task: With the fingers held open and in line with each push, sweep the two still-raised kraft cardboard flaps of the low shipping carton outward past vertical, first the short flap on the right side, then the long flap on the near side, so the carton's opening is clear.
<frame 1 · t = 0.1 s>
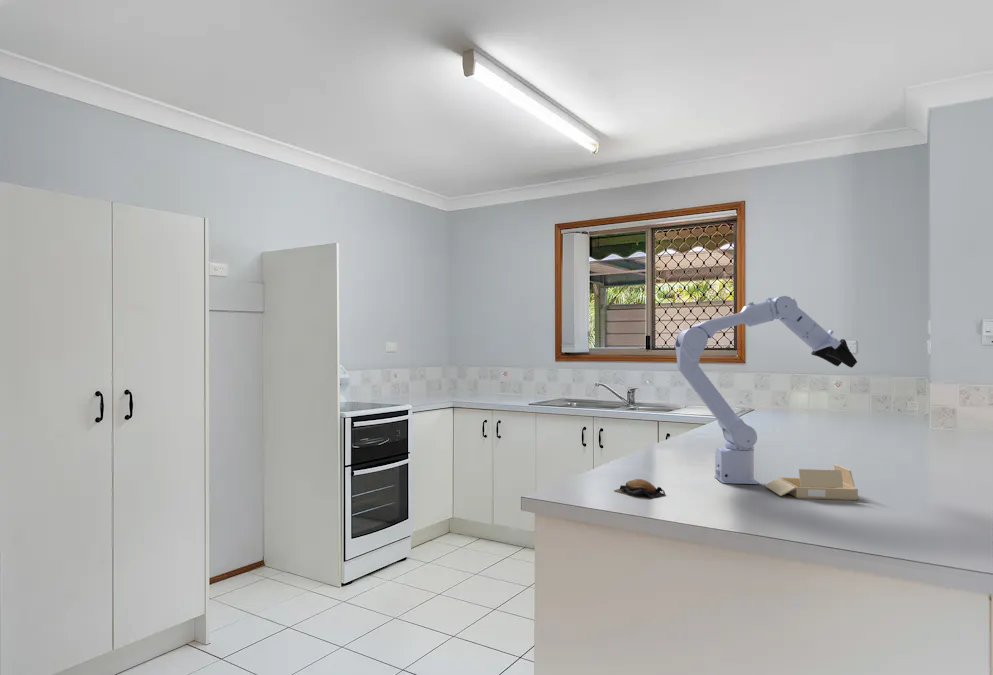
hand: (847, 364, 162), 32 cm above the counter, fingers open, 7 cm apart
brown black domed lump: (639, 495, 149), on the counter
right flap: (843, 474, 151), point 5 cm above the counter, hinge at 75.0°
front flap: (820, 478, 146), point 5 cm above the counter, hinge at 75.0°
carton: (816, 493, 151), on the counter
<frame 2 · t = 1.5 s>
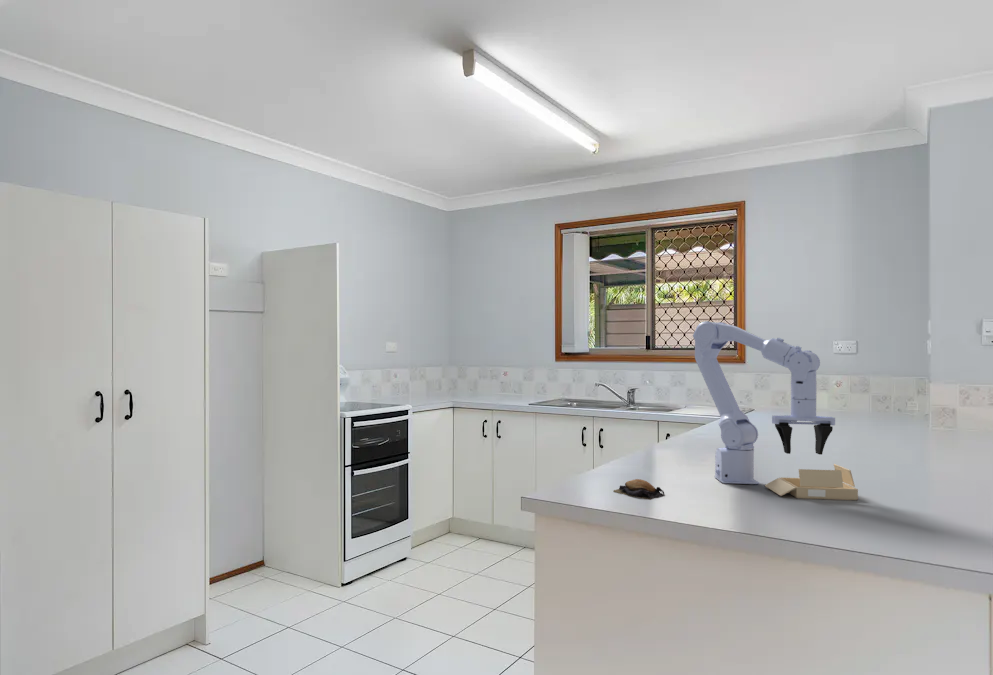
hand: (803, 453, 152), 10 cm above the counter, fingers open, 7 cm apart
nothing on the counter moved.
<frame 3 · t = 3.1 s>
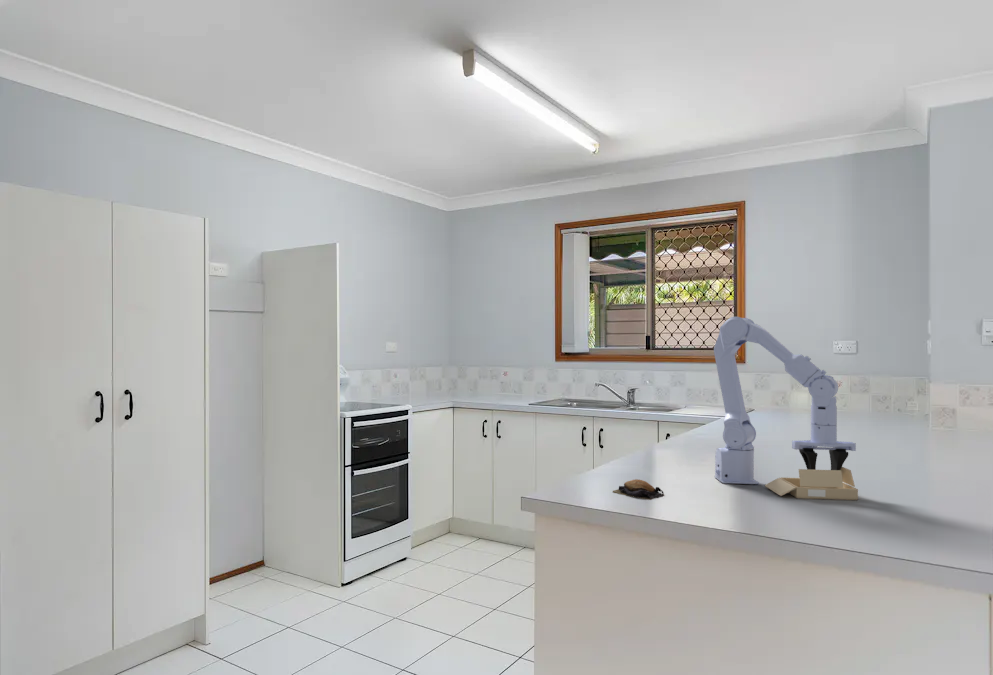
hand: (823, 478, 152), 4 cm above the counter, fingers open, 5 cm apart
right flap: (844, 474, 151), point 5 cm above the counter, hinge at 75.4°, touching gripper
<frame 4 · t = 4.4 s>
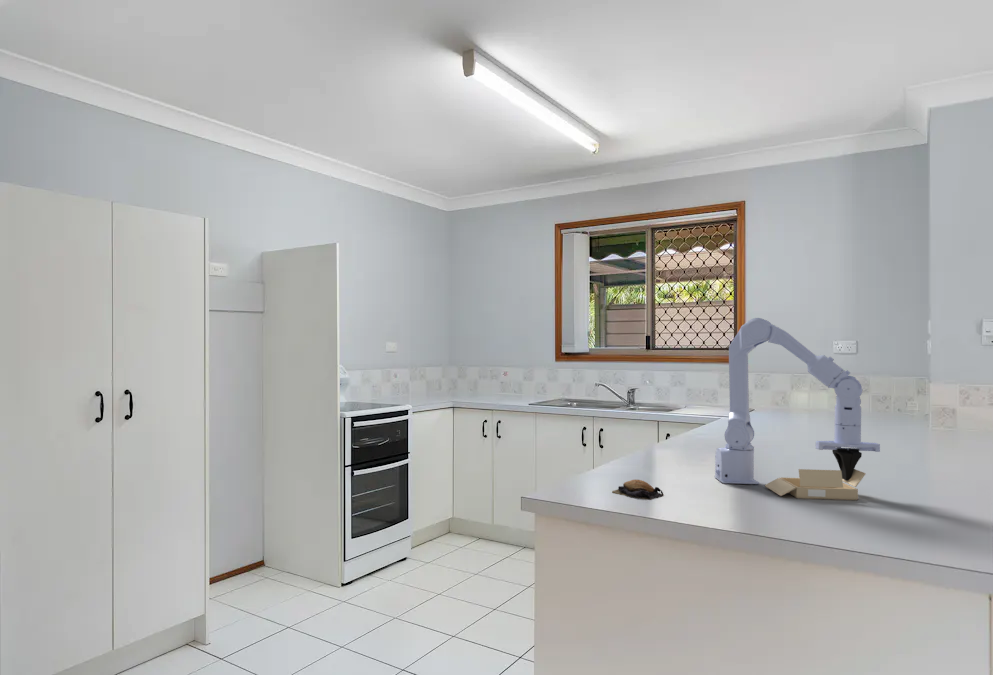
hand: (846, 479, 152), 4 cm above the counter, fingers closed, pressing on right flap
right flap: (851, 476, 151), point 4 cm above the counter, hinge at 124.6°, touching gripper
everything else where it was.
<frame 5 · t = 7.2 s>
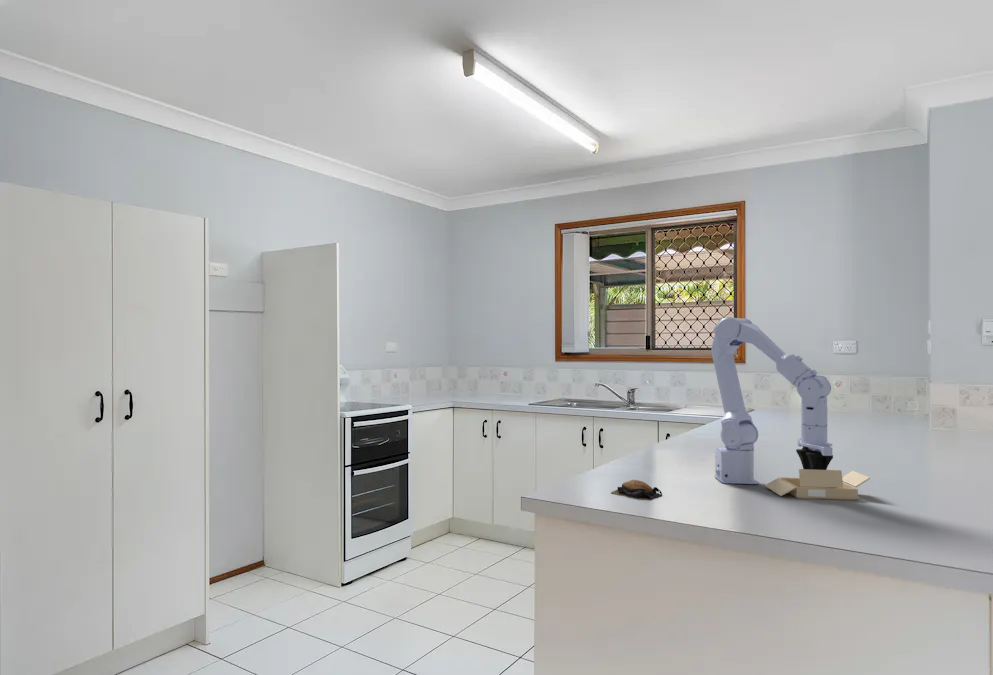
hand: (814, 480, 150), 4 cm above the counter, fingers open, 4 cm apart
right flap: (854, 478, 151), point 4 cm above the counter, hinge at 145.0°
front flap: (820, 478, 146), point 5 cm above the counter, hinge at 76.2°, touching gripper
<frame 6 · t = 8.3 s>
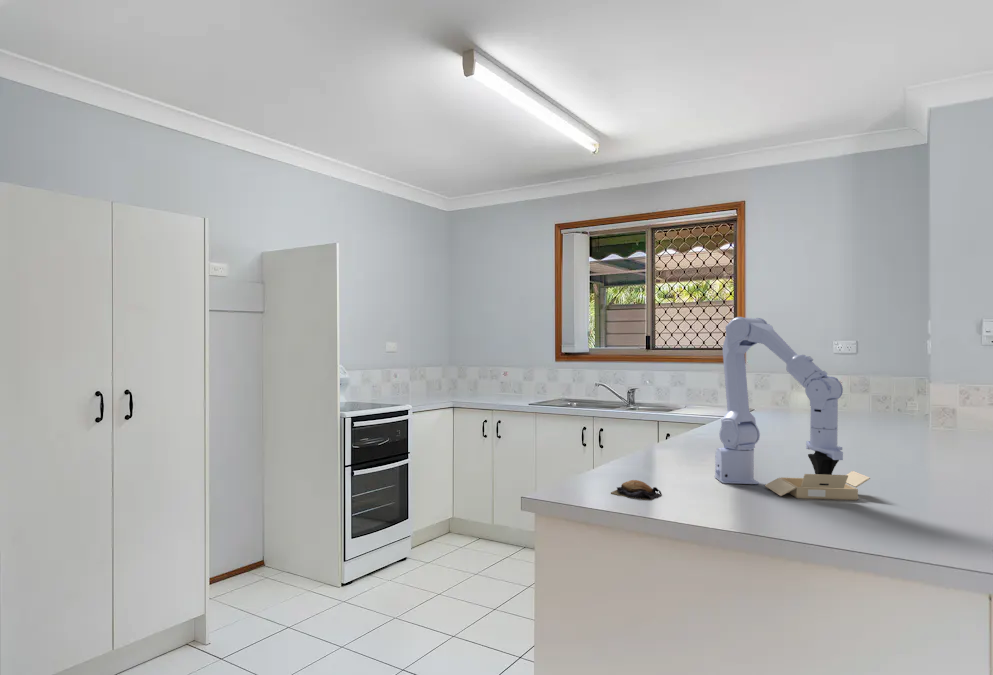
hand: (823, 484, 145), 3 cm above the counter, fingers closed, pressing on front flap
front flap: (824, 481, 145), point 5 cm above the counter, hinge at 122.4°, touching gripper
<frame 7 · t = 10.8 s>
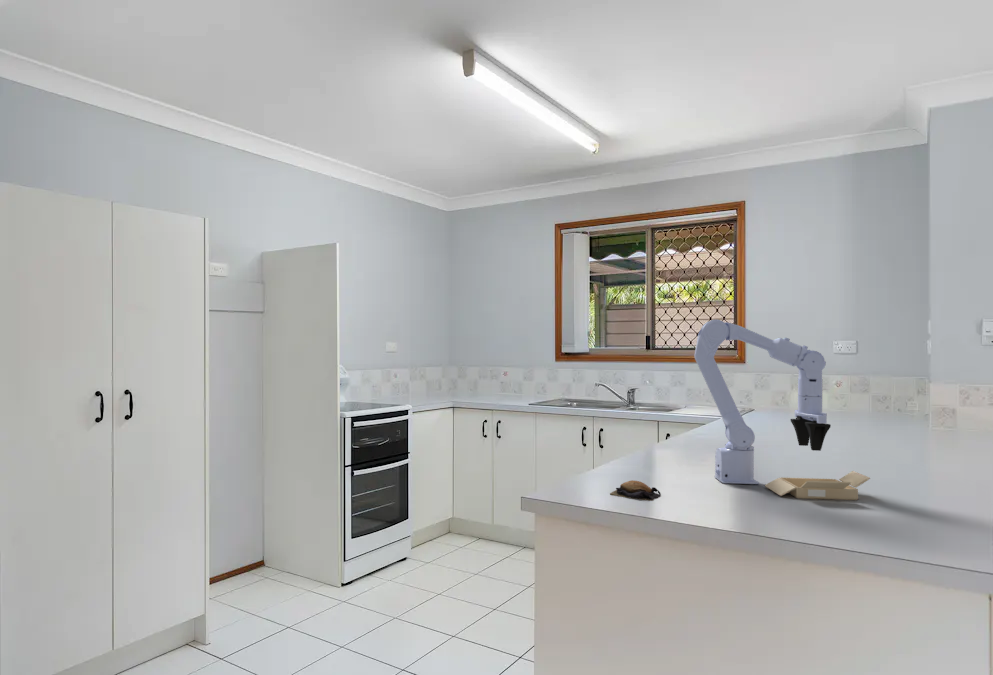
hand: (809, 447, 160), 10 cm above the counter, fingers open, 7 cm apart
front flap: (825, 484, 144), point 4 cm above the counter, hinge at 147.4°
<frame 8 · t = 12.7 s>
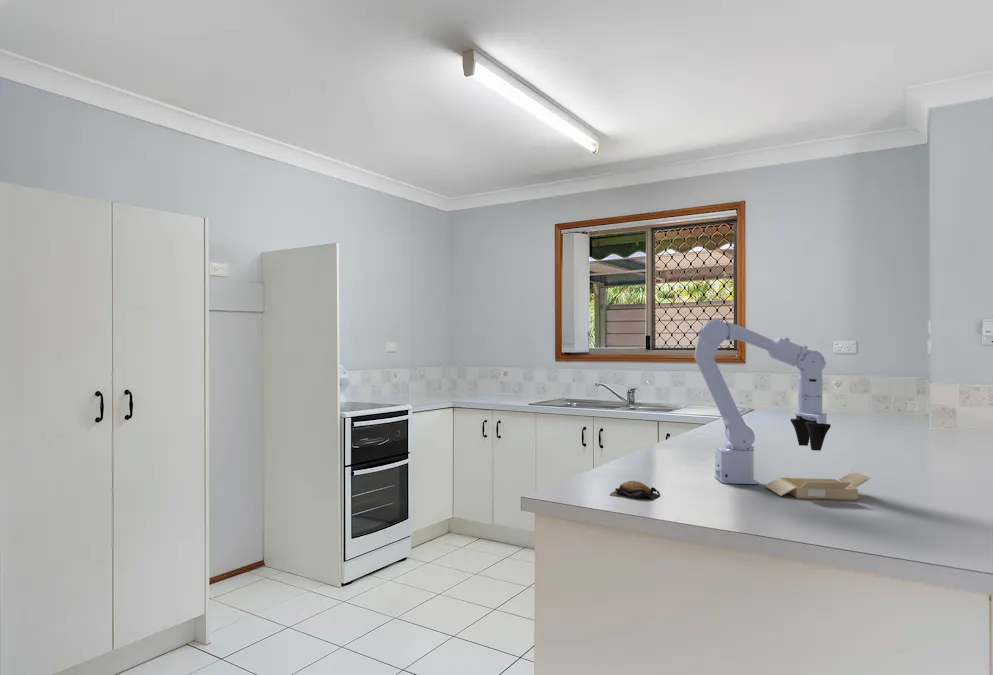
hand: (809, 447, 160), 10 cm above the counter, fingers open, 7 cm apart
front flap: (825, 484, 144), point 4 cm above the counter, hinge at 148.0°
at the end: right flap at +145° (first picture: +75°); front flap at +148° (first picture: +75°) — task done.
